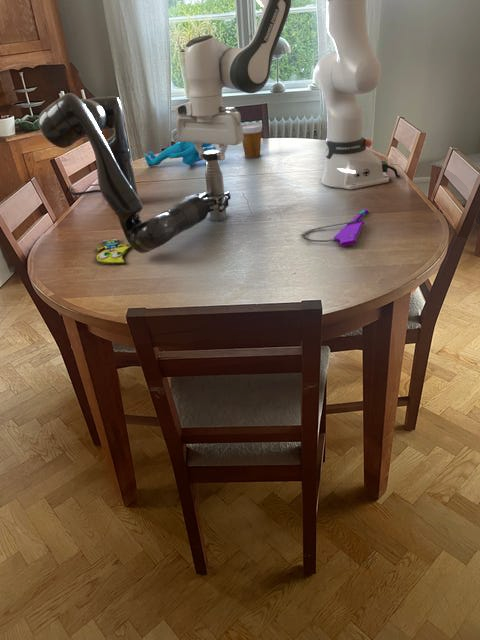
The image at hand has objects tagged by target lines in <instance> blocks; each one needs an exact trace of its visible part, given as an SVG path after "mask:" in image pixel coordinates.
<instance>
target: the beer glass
mask: <svg viewBox="0 0 480 640" xmlns="http://www.w3.org/2000/svg"><path fill="white" fill-rule="evenodd" d="M241 125H242V130H243V137H244V139H243V141H242V143H241V144H242V147H243V152H244V157H245V158H248V159H249V158H251V159H252V158H253V159H254V158H258V157H260V156H261V144H262V131H263V126H262V124H261V123H245V124H241Z"/></svg>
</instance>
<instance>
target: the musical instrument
mask: <svg viewBox="0 0 480 640" xmlns="http://www.w3.org/2000/svg"><path fill="white" fill-rule="evenodd" d="M367 214H369V210H368V209H367V208H364V209H362V210H361V211H359V212H358V214H357V215H356V216H355V217H353V219H352V220H350V221H347V222H342V223H337V224H330V225H325V226H320V227H316V228H312V229H310V230H307V231H305V232H304V233H302V234H301V238H302V239H304V240H305V241H309V242H313V243H314V242H316V243H328V242H336V243H339V244H340V246H341V247H342V248H343V247H347V246H348V247H349V246H354V245H355V244H356V242H357V240H358V238H359V236H360V235H361V234H360V233H361V232H362V229H363V227H364V224H365V220H362V219H361V218H363V217H364V216H365V215H367ZM340 225H345V226H344V227H343V228H342V229H340V231H338V233H336V235H334V236H333V239H311V238H308V237H306V235H307V234H308V233H311V232H314V231H316V230H320V229H324V228H330V227H336V226H340Z"/></svg>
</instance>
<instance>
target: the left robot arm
mask: <svg viewBox="0 0 480 640" xmlns="http://www.w3.org/2000/svg"><path fill="white" fill-rule="evenodd" d="M37 119H38V121H37V122H38V127H39V130H40V132H41V134H42V135H43V137H44V138H45V139H46V140H47V142H49V143H50V144H52V145H53V146H55V147H57V148H61V149H67V148H70V147H71V146H73V145H75V144H77V142H79V141H80V140H82V139H86V138H87V139H88V141H89V142H90V145H91V147H92V150H93V154H94V158H95V163H96V173H97V181H98V183H97V184H98V187H99V189H91V190H86V191H79V192H75V191H73V190H72V186H70V185H69V186H68V192H69V193H70V194H71V195H73V196H81V195H88V194H93V193H101V194H102V197H103V198H104V200H105V201H106V203H107V204H108V205H109V207H110V209H111V210H112V212H114V215H116V216H117V219H118V221H119V224H120V227H121V230H122V232H123V234H124V237H125V239H126V241H127V244H128V245H129V246H131V247H132V248H131V249H132V250H134V251H135V252H137V253H140V254H147V253H149V252H152V251H153V250H155V249H157V248H159V247H162V246H163V245H165V244H167V243H168V242H170V241H171V240H172V239H174V237H176V236H178V235H180V234H181V233H183V232H185V231H188V230H189V229H192V228H193V227H194V226H197V225H198V224H200V223H202V222H203V221H205V219H206V218H207V216H208V214H209V213H210V212H211V211H213V210H215V209H219V212H223V211H224V210H225V209H226V210H227V208H228V207H229V205H230V203H229V200H231V192H230V191H226V192H224V194H223V195H221V196H218V197H216V196H213V197H210V198H208V194H207V192H202V193H200V192H197V193H193V194H191V195H188V196H185V197H183V198H182V200H180V201H178V202H177V203H175V204H174V205H172V206H171V207H169V208H168V209H165V210H164V211H162V212H161V213H159V214H157V215H155V216H153V217H151V218H149V219H147V220H144V221H143V222H142V219H141V217H140V212H142V211H143V209H144V203H143V202H142V200H141V198H140V197H139V194H138V188H137V183H136V178H135V173H134V169H133V164H132V158H131V154H130V148H129V144H128V143H129V142H128V137H127V132H126V126H125V119H124V112H123V106H122V103H121V100H120V99H119V97H117V95H116V96H115V95H111V96H109V95H108V96H99V97H92V98H79V96H77V95H76V94H75V93H72V92H67V93H65V94H63V95H62V96H60V97H59V98H58V99H56V100H55V101H53V102H52V103H51V104H49V105H48V106H47V107H46V108H44V109H43V110H42V111H41V112H40V114H38V118H37ZM105 130H106V131H107V130H113V134H112V135H111V136H110V137H108V138H107V139H105V137H104V135H103V134H102V131H105ZM219 199H220V202H218V200H219ZM213 200H214V201H213Z"/></svg>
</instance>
